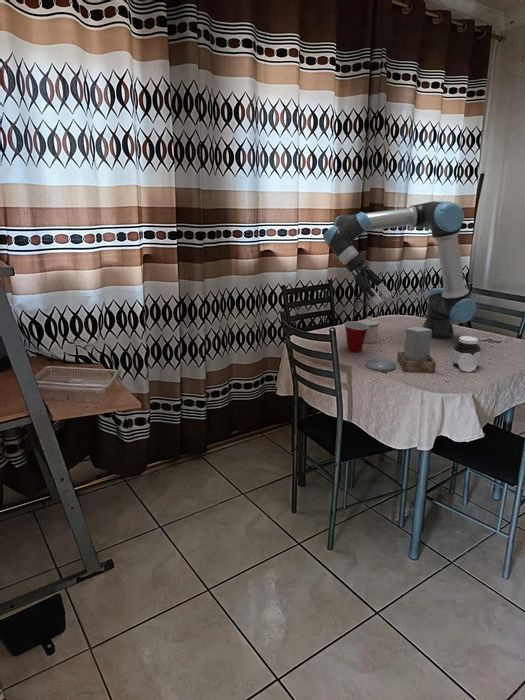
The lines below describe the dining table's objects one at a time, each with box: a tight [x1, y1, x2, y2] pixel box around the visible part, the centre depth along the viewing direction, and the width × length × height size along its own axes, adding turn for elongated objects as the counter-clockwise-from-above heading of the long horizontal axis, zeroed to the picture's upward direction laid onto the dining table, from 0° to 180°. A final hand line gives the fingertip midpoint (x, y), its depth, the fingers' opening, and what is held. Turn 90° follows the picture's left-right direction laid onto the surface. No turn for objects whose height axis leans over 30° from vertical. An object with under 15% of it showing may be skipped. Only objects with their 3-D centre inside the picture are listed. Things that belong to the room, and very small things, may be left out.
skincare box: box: [403, 326, 432, 362], centre depth 195 cm, size 8×7×16 cm
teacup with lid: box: [359, 316, 380, 344], centre depth 229 cm, size 12×9×12 cm
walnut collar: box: [396, 351, 437, 373], centre depth 197 cm, size 12×13×4 cm
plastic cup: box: [344, 320, 369, 353], centre depth 215 cm, size 11×11×12 cm
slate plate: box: [365, 358, 397, 372], centre depth 197 cm, size 12×12×1 cm
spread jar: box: [451, 335, 482, 373], centre depth 195 cm, size 12×11×12 cm
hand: (384, 299), depth 199 cm, fingers open, 13 cm apart
